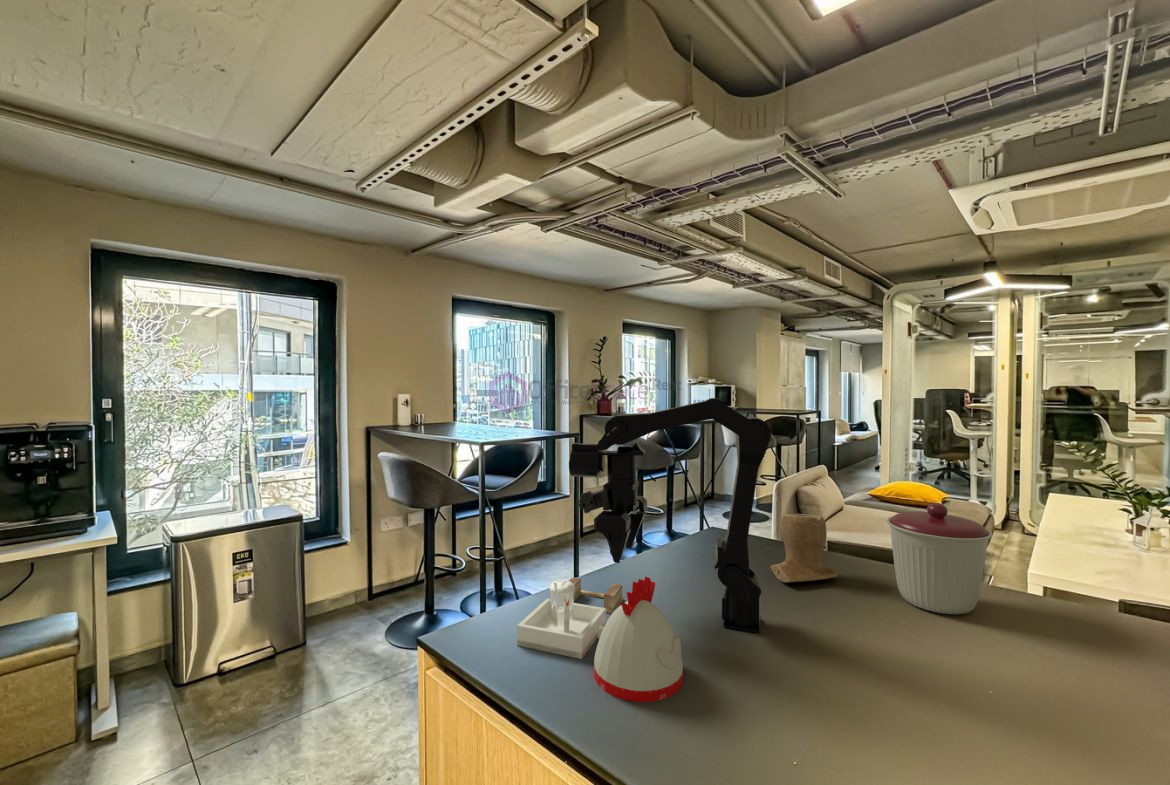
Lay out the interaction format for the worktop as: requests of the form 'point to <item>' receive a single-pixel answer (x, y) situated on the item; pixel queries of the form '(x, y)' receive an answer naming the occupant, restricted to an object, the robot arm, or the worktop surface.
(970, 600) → the canister
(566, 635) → the tray
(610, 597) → the wooden joined piece
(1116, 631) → the worktop surface
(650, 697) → the kitchen timer
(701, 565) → the worktop surface
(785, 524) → the tan flared pedestal
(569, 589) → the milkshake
